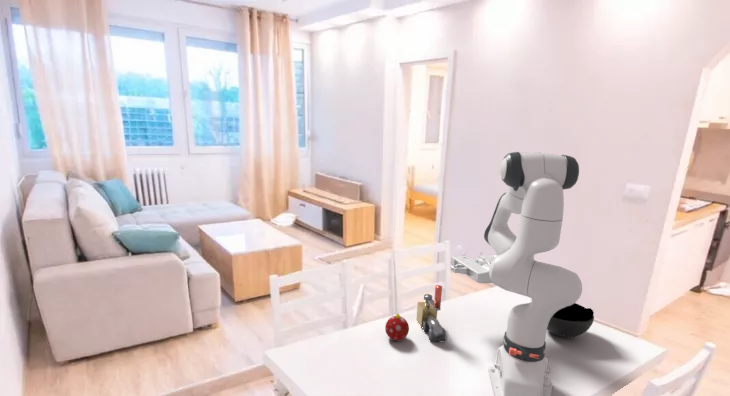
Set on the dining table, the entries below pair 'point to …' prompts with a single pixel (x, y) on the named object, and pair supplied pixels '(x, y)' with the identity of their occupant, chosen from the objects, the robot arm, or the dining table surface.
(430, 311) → the valve
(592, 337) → the dining table surface
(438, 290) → the lever
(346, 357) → the dining table surface
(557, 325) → the bowl of black rocks
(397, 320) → the christmas ornament
